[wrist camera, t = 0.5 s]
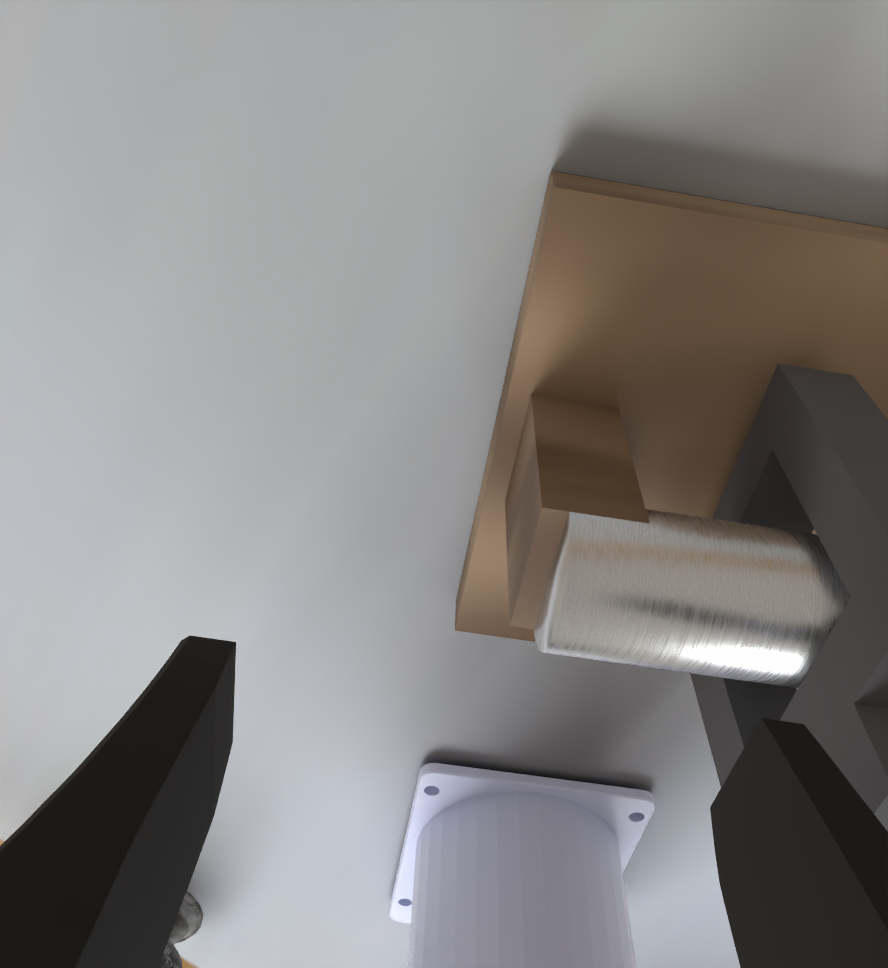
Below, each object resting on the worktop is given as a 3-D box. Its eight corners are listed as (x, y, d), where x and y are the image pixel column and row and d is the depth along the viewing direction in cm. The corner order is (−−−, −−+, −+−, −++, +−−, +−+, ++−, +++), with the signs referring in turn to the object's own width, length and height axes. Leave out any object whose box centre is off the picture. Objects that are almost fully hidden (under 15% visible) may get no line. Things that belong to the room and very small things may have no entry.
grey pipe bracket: (734, 618, 21) (857, 967, 14) (673, 610, 21) (766, 956, 14) (852, 375, 17) (1101, 692, 10) (778, 363, 17) (977, 674, 10)
